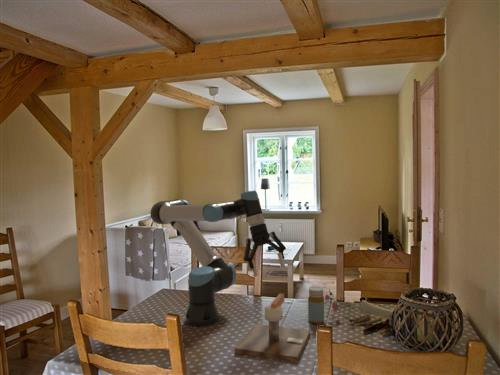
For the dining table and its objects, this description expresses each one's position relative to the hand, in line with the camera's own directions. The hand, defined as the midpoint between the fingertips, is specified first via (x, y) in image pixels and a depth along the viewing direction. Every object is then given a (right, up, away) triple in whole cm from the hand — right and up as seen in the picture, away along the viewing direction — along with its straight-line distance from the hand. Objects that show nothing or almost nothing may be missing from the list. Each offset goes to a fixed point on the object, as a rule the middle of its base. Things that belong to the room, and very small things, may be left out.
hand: (269, 271), depth 178 cm
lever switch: (+2, -14, -15) cm, 21 cm away
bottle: (+21, -23, +3) cm, 31 cm away
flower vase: (+43, -23, +3) cm, 48 cm away
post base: (+1, -25, -19) cm, 31 cm away
